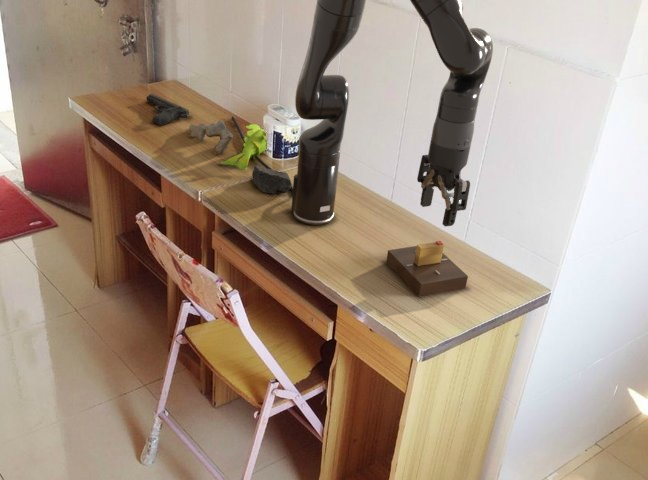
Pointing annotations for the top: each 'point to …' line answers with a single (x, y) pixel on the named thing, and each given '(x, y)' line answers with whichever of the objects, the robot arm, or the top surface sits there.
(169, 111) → the handgun
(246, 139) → the toy
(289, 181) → the rock
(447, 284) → the lock plate
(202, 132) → the grey lumpy bent piece
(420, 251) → the red-tipped tan block
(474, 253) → the top surface
